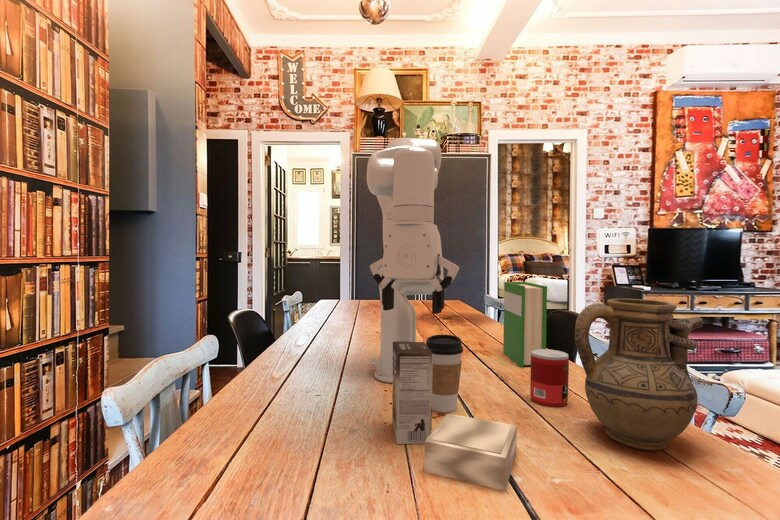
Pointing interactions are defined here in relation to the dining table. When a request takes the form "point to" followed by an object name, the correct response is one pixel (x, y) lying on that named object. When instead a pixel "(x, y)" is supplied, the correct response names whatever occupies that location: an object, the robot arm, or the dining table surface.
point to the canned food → (549, 377)
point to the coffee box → (412, 392)
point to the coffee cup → (445, 371)
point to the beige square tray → (472, 451)
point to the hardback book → (524, 320)
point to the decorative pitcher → (639, 371)
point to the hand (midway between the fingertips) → (412, 311)
